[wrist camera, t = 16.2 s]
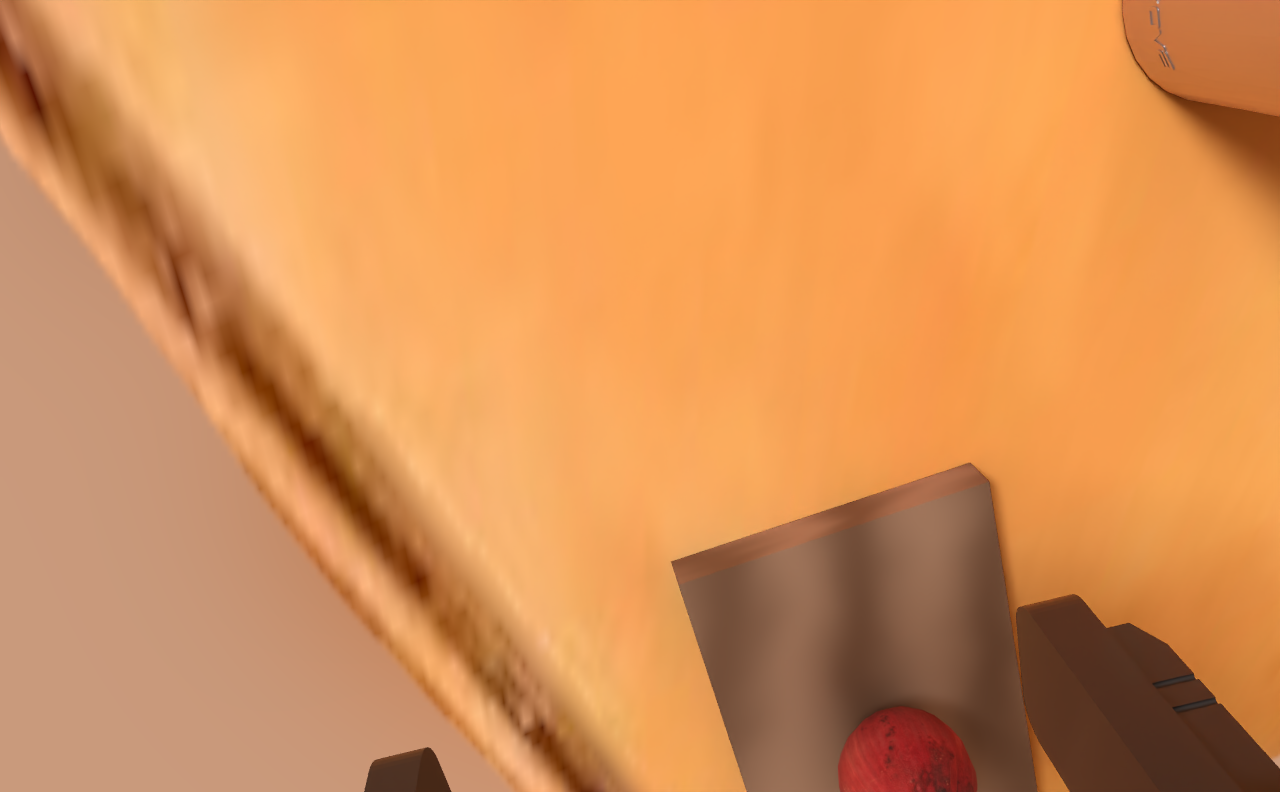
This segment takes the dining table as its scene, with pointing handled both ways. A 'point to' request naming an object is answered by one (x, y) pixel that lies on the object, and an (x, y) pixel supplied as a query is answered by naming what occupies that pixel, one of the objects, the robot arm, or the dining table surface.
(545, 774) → the dining table surface
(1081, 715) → the robot arm
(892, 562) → the cutting board
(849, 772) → the onion
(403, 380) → the dining table surface
